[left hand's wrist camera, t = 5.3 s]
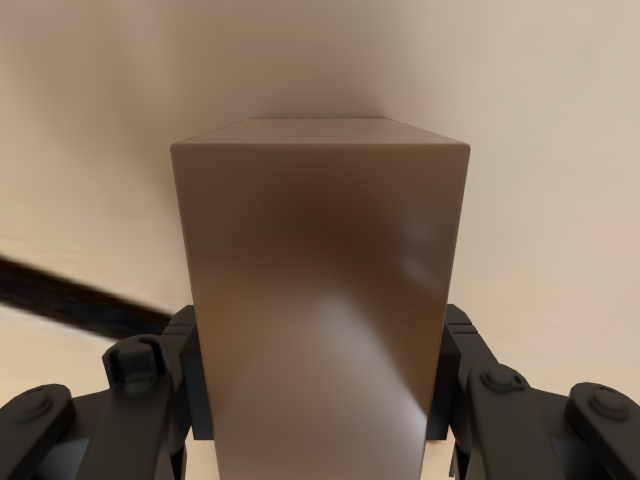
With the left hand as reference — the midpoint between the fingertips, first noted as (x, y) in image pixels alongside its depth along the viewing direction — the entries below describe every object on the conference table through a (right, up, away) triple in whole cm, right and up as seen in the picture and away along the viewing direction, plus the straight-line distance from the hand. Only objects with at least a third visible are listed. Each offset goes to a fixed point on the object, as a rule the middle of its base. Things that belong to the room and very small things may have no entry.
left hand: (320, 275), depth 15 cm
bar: (0, -29, +12) cm, 31 cm away
